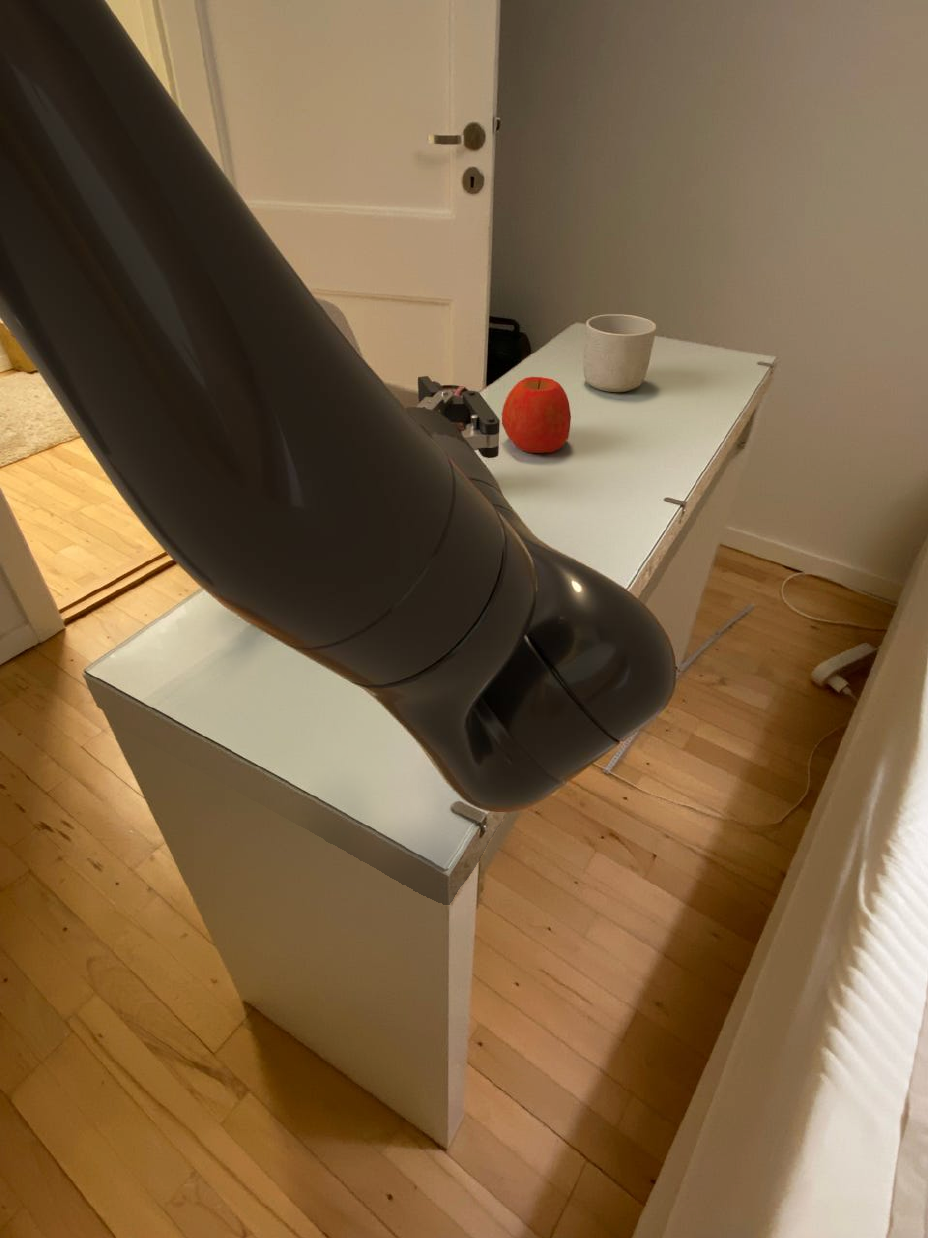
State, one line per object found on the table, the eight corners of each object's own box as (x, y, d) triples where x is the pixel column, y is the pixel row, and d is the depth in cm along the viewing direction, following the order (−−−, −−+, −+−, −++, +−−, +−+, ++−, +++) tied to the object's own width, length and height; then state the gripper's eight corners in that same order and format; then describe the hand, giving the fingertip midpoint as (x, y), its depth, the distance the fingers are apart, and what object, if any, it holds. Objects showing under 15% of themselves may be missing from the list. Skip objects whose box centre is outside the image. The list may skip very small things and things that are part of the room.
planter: (657, 394, 125) (669, 332, 118) (593, 399, 122) (601, 337, 115) (629, 370, 134) (638, 311, 127) (570, 375, 132) (576, 316, 125)
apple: (487, 442, 109) (488, 376, 102) (536, 424, 114) (540, 360, 108) (533, 466, 103) (538, 397, 96) (583, 446, 108) (591, 379, 101)
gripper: (545, 419, 39) (456, 334, 51) (294, 455, 35) (261, 354, 47) (536, 531, 44) (457, 429, 56) (314, 572, 40) (280, 454, 52)
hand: (367, 395), depth 51 cm, fingers open, 8 cm apart
